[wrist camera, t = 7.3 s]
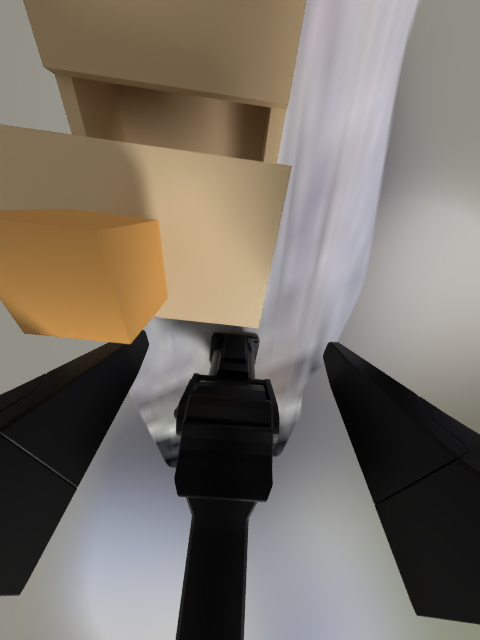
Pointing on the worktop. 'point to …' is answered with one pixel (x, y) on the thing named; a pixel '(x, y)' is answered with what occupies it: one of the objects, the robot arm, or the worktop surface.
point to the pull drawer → (131, 235)
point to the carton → (174, 70)
